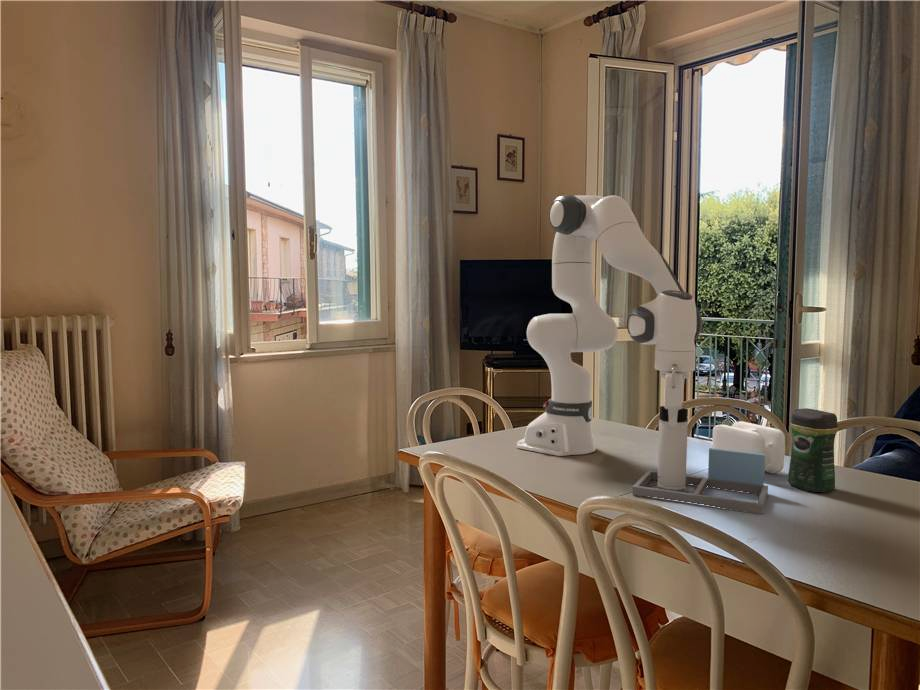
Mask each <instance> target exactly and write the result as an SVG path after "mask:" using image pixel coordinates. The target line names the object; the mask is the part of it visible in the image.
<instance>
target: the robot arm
mask: <svg viewBox="0 0 920 690" xmlns="http://www.w3.org/2000/svg"><path fill="white" fill-rule="evenodd" d="M548 218H549V223H550V226H551V228H552V229H553V231H554V232H555V235H554V239H553V244H552V253H551V254H552V257H551V289H552V291H553V294H554V295H555V296H556V297H557V298H559V300H562V301H564V302H566V303H568V304H570V306H571V308H572V312H571V313H547V314H546V313H545V314H541V315H537V316H534V317H532V319H530V320H529V322H528V325H527V328H526V339H527V342H528V344H529V346H530V347H531V348H532V349H533V351H536V352H537V353H538V354H539V355H541V357H542V358H543V359H544V361H545V363H546V365H547V367H548V369H549V373H550V380H551V398H549V399H548V400H547V401H545V402H544V403H543V408H544V409H545V412H543V413H542V414H540V415H539V416H537V417H536V418H535V419H534V420H532V421H531V422H529V423H528V425H527V426H526V429H525V432H524V433H525V434H524V438H522V439H520V440H518V441H517V442H516V448H517V449H520V450H525V451H532V452H536V453H541V454H547V455H553V456H557V457H564V456H565V457H566V456H571V455H574V456H575V455H586V454H590V453H593V452H595V451H596V445H595V442H594V436H593V430H592V420H593V401H592V400H591V398H592V396H591V395H592V392H591V391H592V376H591V372H589V370H588V369H587V368H586V367H583V366H582V365H580V364H578V363H576V362H574V361H573V360H572V356H571V353H595V352H601V351H606V350H611V348H612V347H613V346H614V345H615V343H616V342H617V339H618V335H619V331H618V325H617V324H616V321H615V319H614V318H613V317H611V316H610V315H609V314H607V312H605V311H604V310H603V309H602V307H601V306H600V304H599V302H598V301H597V299H596V296H595V293H594V287H593V273H592V269H593V268H592V264H593V263H592V246H593V243H594V242H595V241H596V243H597V245H598V248H599V251H600V254H601V255H602V258H604V260H605V262H606V263H607V264H608V265H610V266H611V267H612V268H614V269H616V270H620V271H623V272H627V273H630V274H633V275H636V276H638V277H640V278H642V279H644V280H645V281H647V282H649V284H650V285H651V286H652V287H653V289H654V291H655V293H656V294H657V296H656V297H655V298H654V299H652V300H651V301H649V302H645V303H644V304H640V305H636V306H634V308H633V309H632V310H631V311H630V312H629V314H628V317H627V321H626V323H627V324H626V326H627V327H626V328H627V332H628V335H629V337H630V339H631V340H633V342H635V343H636V344H640V345H645V346H646V345H655V348H654V370H656V371H659V376H660V377H661V378H664V395H663V396H664V400H663V402H664V403H663V404H664V405H663V406H664V407H665V409H668V417H669V423H668V424H669V426H676V425H677V415H678V410H680V409H683V408H682V407H683V391H684V387H685V386H684V385H685V379H686V380H687V379H688V378H689V377H690V373H691V372H694V371H696V344H695V341H696V340H697V338H698V337H699V336H700V334H701V332H702V328H703V318H702V315H701V313H700V311H699V310H698V308H697V306H696V301H695V300H696V299H695V298H694V296H693V295H692V294H691V293H690V292H686V291H684V289H683V287H682V286H681V284H680V282H679V281H678V279H677V276H676V275H675V273H674V272H673V270H672V268H671V266H670V265H669V262H668V261H667V260H666V259H665V257H664V255H663V254H662V253H660V252H659V251H658V250H657V249H655V247H654V246H653V245H652V244H651V243H650V242H649V241H648V239H647V238H646V236H645V235H644V233H643V231H642V229H641V227H640V224H639V222H638V220H637V218H636V216H635V214H634V213H633V211H632V208H631V207H630V205H629V203H627V201H626V200H625V199H624V198H623V197H621V196H618V195H616V194H615V195H607V196H601V195H600V196H599V195H594V194H589V195H588V194H587V195H585V194H583V195H582V194H579V195H573V194H564V195H561V196H557V197H556V198H555V199H554V200H553V202H552V203H551V205H550V208H549V213H548Z"/></svg>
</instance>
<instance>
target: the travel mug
mask: <svg viewBox="0 0 920 690" xmlns="http://www.w3.org/2000/svg"><path fill="white" fill-rule="evenodd" d="M688 412H689V411H688V409H687V408H681V409H680V410H678V415H677V425H676V426H669V424H668V423H669V417H668V409H665V407H664V405H663V406H659V418H658V419H659V421H658V422H659V423H658V426H659V427H658V447H657V449H658V453H657V455H658V456H657V459H658V460H657V471H658V481H657V486H656V489H663V490H670V491H677V492H684V493H686V485H685V484H686V475H687V457H688V456H687V451H688V427H689V425H688V422H689V420H688V419H689V418H688V414H689V413H688Z"/></svg>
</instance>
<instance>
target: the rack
mask: <svg viewBox="0 0 920 690" xmlns="http://www.w3.org/2000/svg"><path fill="white" fill-rule="evenodd" d="M764 468H765V454H760V453H751V452H742V451H733V450H724V449H715V448H712V447H710V448H709V449H708V469H707V471H708V474H707V477H704V476H703V477H702V476H695V475H689V474H688V475H687V474H686V484H693V485H698V486H696V488H695V490H694V491H693V493H690V492H677V491H670V490H663V489H657V487H655V488H654V487H647V485H648V484H649V483H650V482H651V481H652V480H651V479H654V480H653V481H656V480H658V470H649V469H648V470H647V471H646V472H645V473H644V474H643V475H642V476H641V477H640V478H639V479H638V480H637V482H635V484H634V485H633V486H632V496H635V495H639V496H638V497H642V496H650V497H657V498H664V499H670V500H678V501H684V502H691V503H697V504H704V505H709V506H715V507H714V508H716V507H720V508H719V509H722V508H725V509H724V510H729V509H732V510H731V511H736V510H738V511H737V512H742V511H745V512H744V513H749V512H750V514H757V515H762V514H763V512H764V508H765V504H766V501H767V499H766V498H768V493H769V485H765V472H764ZM650 480H651V481H650ZM649 481H650V482H649ZM648 482H649V483H648ZM647 483H648V484H647ZM646 484H647V485H646ZM693 485H692V486H693ZM707 486H708V487H715V488H720V489H719V490H722V489H727V490H726V491H729V490H734V491H733V492H736V491H743V492H742V493H744V492H749V493H748V494H751V493H756V494H755V495H758V494H760V495H759V496H758V497H759V498H758V500H757V502H754V501H748V500H747V501H745V500H739V499H733V498H732V499H731V498H726V497H725V498H724V497H719V496H712V495H704V493H705V492H706V490H707V488H706V487H707ZM715 488H714V489H715ZM705 489H706V490H705ZM704 491H705V492H704ZM703 492H704V493H703ZM702 494H703V495H702ZM709 506H708V507H709Z"/></svg>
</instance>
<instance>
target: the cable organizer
mask: <svg viewBox="0 0 920 690" xmlns="http://www.w3.org/2000/svg"><path fill="white" fill-rule="evenodd" d="M785 441H786V435H785V433H784V432H783V431H782V430H781V429H778V428H775V427H770V426H765V425H761V424H756V423H751V422H747V421H742V420H741V421H735V422H734V423H732V425H731V426H730V425H726V424H717V425H715V426H713V428H712V445H711V446H712V447H711V448H715V449H724V450H733V451H742V452H751V453H760V454H765V468H764V471H766V472H765V473H767V472H769V473H768V474H771V473H773V474H775V473H778V472H781V471H782V470H784V466H785V448H786V447H785V445H786V442H785Z"/></svg>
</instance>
